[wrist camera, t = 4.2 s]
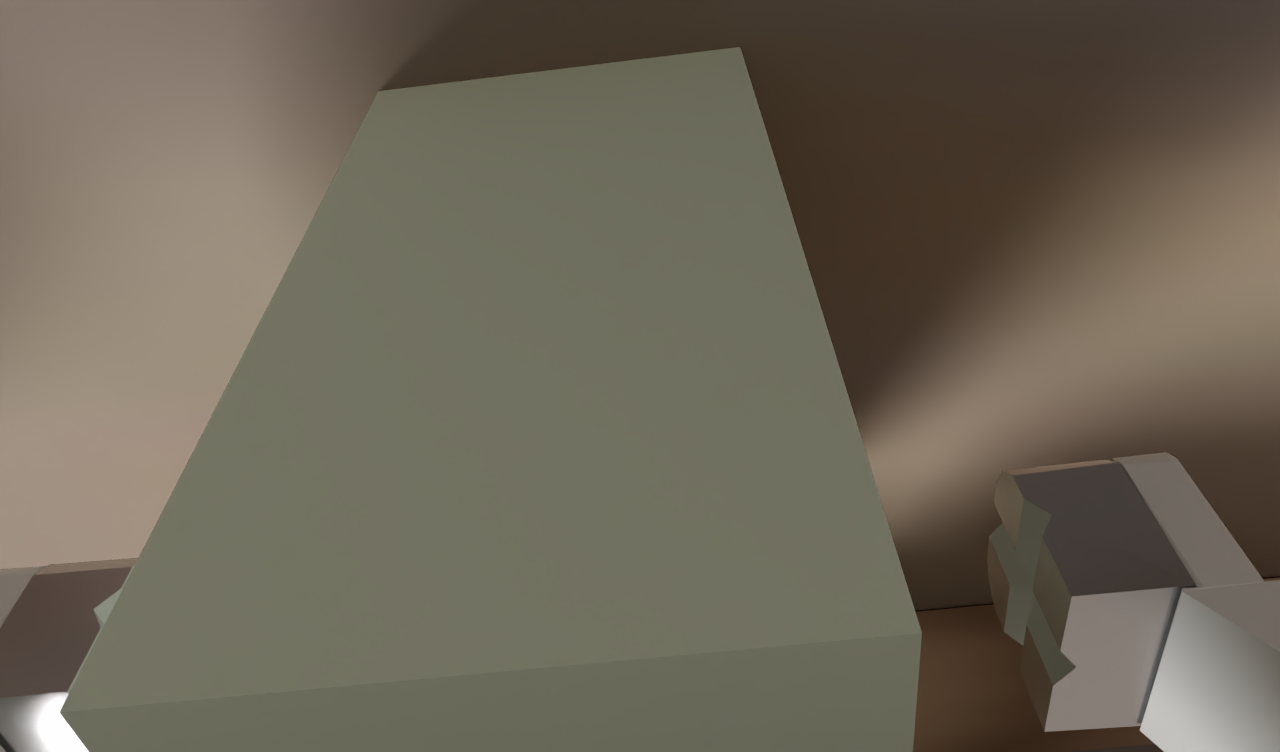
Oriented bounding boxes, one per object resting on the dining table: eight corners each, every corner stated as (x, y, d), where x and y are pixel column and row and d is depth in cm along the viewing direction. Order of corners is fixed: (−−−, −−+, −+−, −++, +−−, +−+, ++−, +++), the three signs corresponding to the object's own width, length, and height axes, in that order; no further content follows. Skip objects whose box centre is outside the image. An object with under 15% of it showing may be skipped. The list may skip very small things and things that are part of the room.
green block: (740, 45, 11) (921, 633, 5) (766, 512, 15) (880, 1165, 9) (378, 89, 11) (59, 712, 5) (502, 537, 15) (421, 1195, 9)
